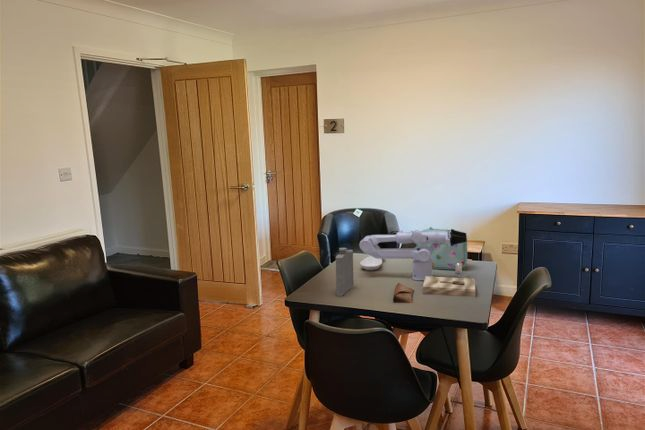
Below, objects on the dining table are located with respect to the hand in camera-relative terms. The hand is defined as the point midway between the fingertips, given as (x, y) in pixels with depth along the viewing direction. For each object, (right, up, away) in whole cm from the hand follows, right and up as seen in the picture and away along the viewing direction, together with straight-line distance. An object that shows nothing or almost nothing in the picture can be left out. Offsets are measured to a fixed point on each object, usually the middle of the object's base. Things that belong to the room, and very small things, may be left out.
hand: (466, 237), depth 214 cm
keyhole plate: (-11, -23, -9) cm, 27 cm away
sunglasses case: (-32, -26, -15) cm, 44 cm away
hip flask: (-58, -24, -6) cm, 63 cm away
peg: (-3, -21, +1) cm, 22 cm away
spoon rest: (-39, -18, +34) cm, 55 cm away
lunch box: (-5, -18, +27) cm, 33 cm away
